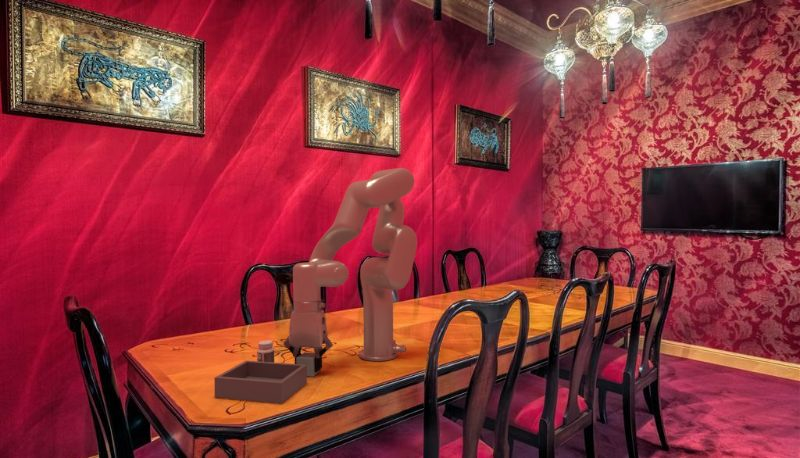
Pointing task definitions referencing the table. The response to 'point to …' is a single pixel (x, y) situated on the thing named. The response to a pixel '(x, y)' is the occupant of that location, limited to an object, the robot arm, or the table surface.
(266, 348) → the pill bottle
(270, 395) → the tote
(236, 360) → the table surface
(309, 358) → the gray cube
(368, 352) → the robot arm
